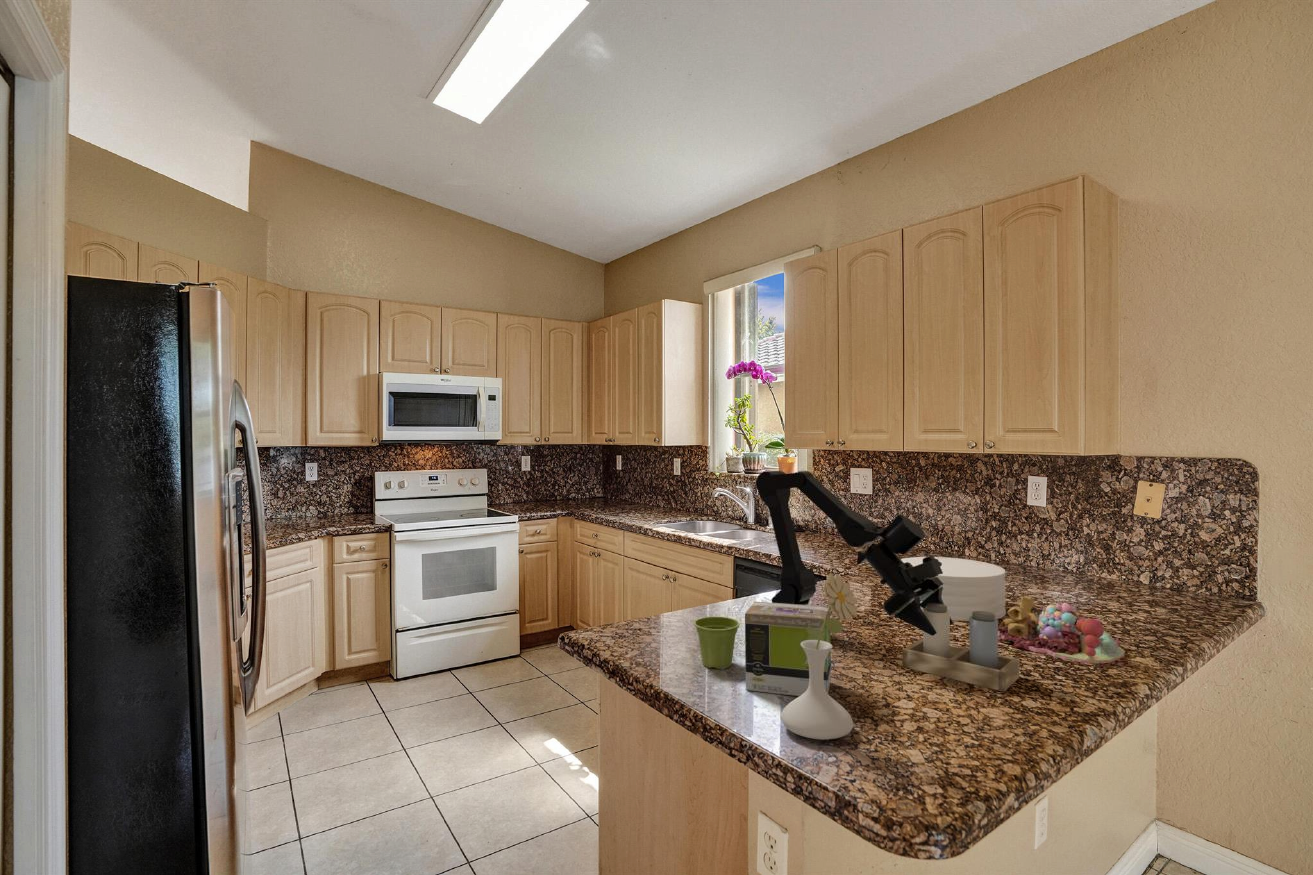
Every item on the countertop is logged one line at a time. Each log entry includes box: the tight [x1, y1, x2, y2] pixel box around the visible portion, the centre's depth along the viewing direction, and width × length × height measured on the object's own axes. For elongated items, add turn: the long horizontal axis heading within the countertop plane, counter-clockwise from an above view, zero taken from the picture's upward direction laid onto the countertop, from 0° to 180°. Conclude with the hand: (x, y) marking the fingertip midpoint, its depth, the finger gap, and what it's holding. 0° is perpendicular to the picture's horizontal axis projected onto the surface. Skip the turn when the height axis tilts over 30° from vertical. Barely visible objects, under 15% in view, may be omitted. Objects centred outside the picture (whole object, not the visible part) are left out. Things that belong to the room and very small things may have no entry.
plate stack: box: [900, 556, 1007, 622], centre depth 179 cm, size 28×28×12 cm
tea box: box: [744, 601, 832, 697], centre depth 122 cm, size 15×10×15 cm
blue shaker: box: [968, 611, 999, 670], centre depth 126 cm, size 5×5×12 cm
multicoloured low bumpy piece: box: [998, 595, 1126, 664], centre depth 147 cm, size 25×24×9 cm
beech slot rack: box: [902, 638, 1020, 693], centre depth 129 cm, size 19×10×4 cm, turn 46°
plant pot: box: [693, 616, 740, 670], centre depth 134 cm, size 9×9×9 cm
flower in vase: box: [779, 572, 858, 740], centre depth 104 cm, size 13×11×25 cm
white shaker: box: [922, 603, 951, 659], centre depth 132 cm, size 5×5×12 cm
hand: (943, 629), depth 131 cm, fingers open, 9 cm apart
